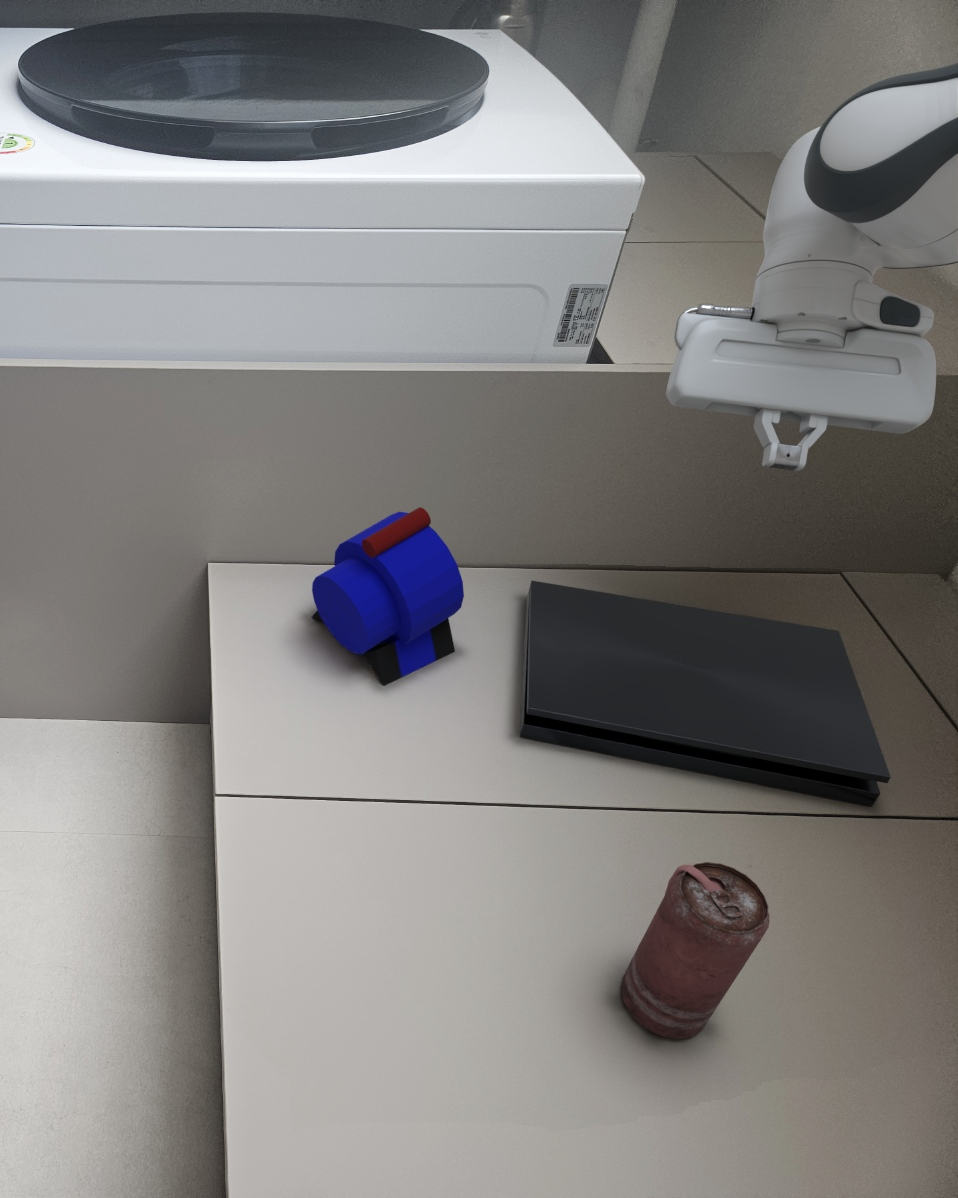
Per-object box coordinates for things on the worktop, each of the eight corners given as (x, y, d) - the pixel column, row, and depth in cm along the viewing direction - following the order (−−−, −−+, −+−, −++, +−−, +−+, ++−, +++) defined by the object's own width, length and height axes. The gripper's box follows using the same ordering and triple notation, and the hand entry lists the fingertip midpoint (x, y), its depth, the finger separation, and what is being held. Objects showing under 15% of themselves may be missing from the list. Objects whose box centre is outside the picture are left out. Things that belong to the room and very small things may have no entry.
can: (638, 948, 81) (695, 839, 72) (719, 1003, 78) (789, 895, 69) (600, 1000, 78) (655, 892, 69) (683, 1059, 75) (751, 953, 66)
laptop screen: (886, 784, 90) (891, 777, 89) (526, 715, 96) (528, 708, 96) (835, 637, 106) (839, 630, 105) (529, 586, 112) (531, 580, 112)
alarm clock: (459, 649, 108) (486, 533, 98) (367, 693, 103) (386, 576, 93) (382, 585, 116) (400, 472, 106) (293, 624, 111) (304, 510, 101)
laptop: (872, 807, 91) (881, 793, 90) (519, 737, 98) (523, 723, 97) (828, 650, 107) (836, 636, 106) (525, 599, 114) (529, 586, 112)
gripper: (690, 287, 90) (664, 442, 89) (956, 313, 85) (932, 476, 85) (670, 314, 96) (646, 459, 95) (918, 339, 92) (895, 492, 91)
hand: (782, 467), depth 90 cm, fingers closed
